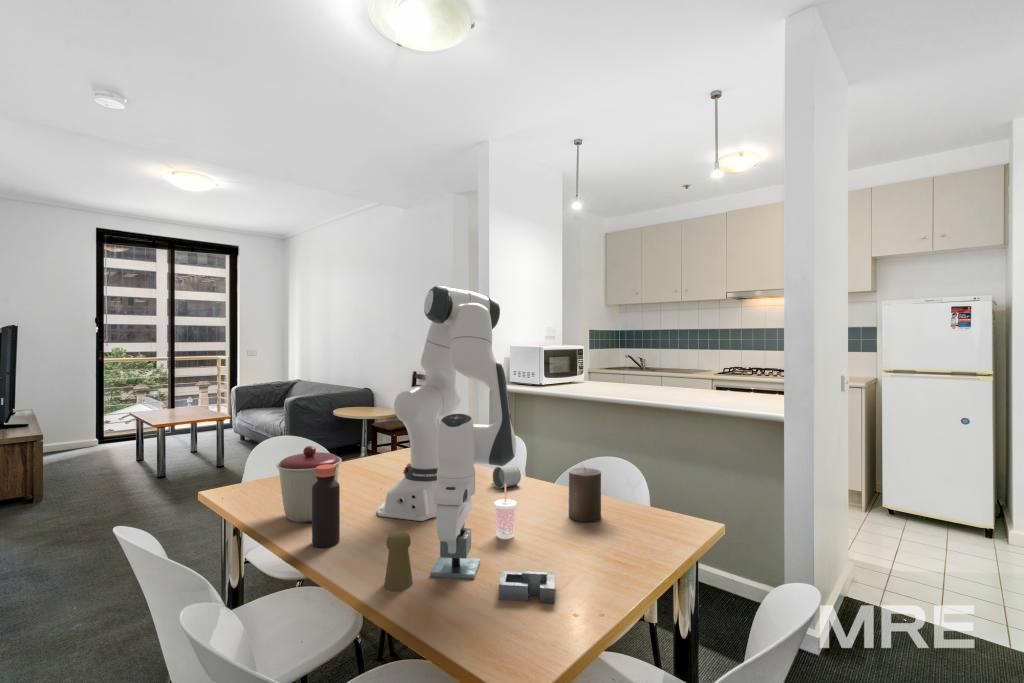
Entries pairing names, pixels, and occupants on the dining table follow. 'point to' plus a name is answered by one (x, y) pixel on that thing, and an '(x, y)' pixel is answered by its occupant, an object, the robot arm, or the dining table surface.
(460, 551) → the end link
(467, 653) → the dining table surface
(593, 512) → the pillar candle
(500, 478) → the ceramic mug
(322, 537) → the bottle
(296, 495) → the canister
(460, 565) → the grey plate with post
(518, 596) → the chain tail
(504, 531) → the beverage cup
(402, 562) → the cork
